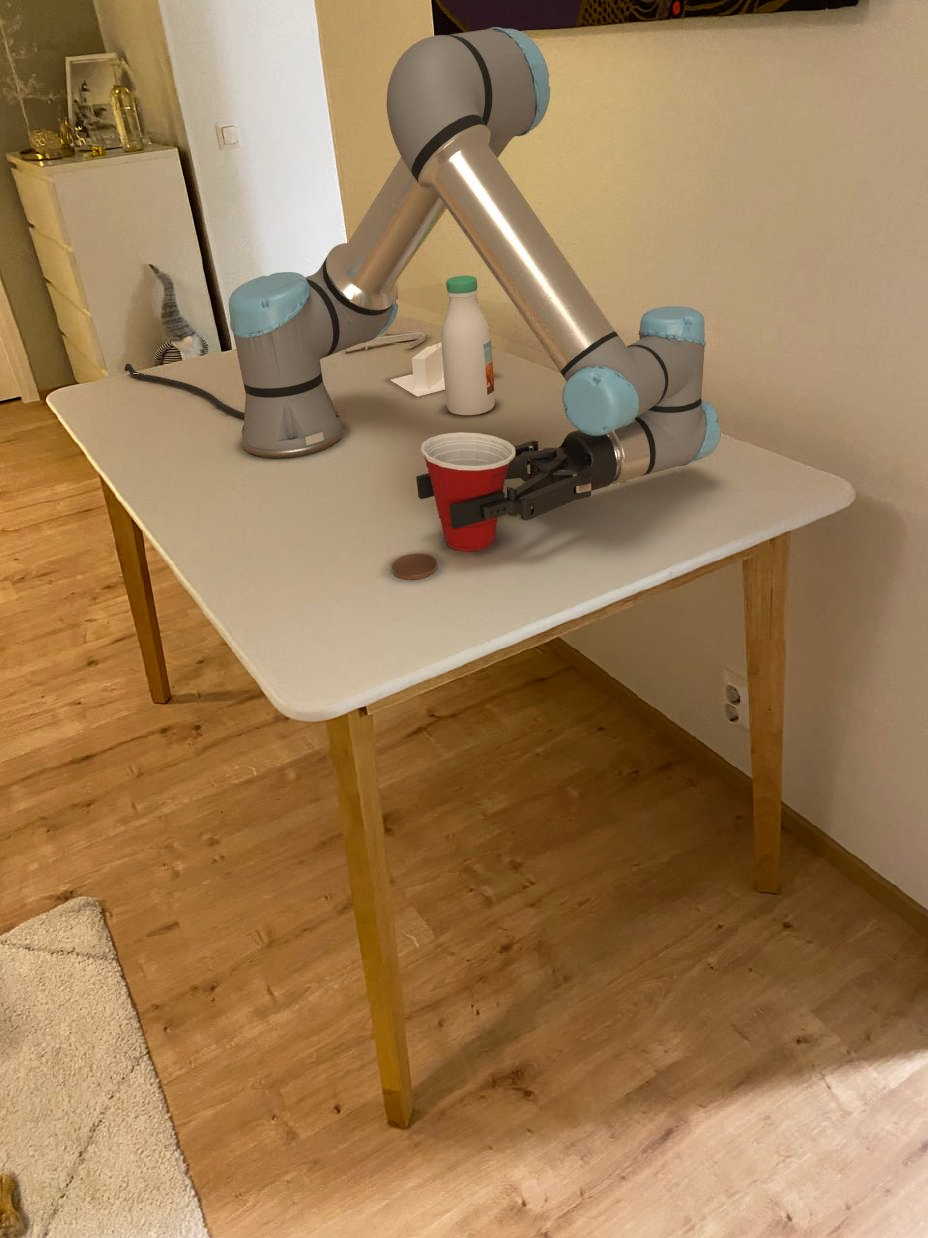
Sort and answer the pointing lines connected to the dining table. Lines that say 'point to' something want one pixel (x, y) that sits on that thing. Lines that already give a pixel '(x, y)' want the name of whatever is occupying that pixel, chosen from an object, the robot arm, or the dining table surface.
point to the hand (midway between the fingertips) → (434, 502)
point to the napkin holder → (425, 372)
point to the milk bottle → (466, 351)
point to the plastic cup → (466, 480)
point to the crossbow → (393, 339)
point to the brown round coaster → (414, 566)
